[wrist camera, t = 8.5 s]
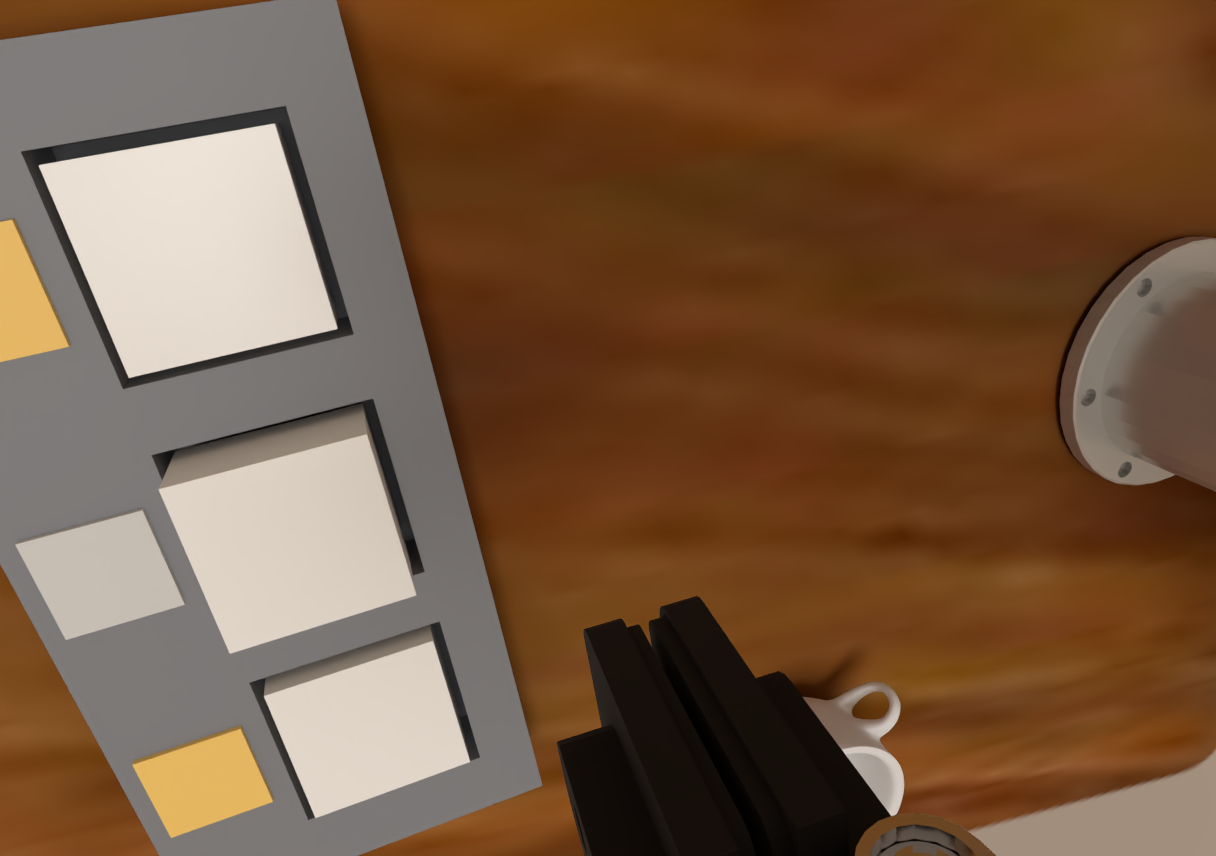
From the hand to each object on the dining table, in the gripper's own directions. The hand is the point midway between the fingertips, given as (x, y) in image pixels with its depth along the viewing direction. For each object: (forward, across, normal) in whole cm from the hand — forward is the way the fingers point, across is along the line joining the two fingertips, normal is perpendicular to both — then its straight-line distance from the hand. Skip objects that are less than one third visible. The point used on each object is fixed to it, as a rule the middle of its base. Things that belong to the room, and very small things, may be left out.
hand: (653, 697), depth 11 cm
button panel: (+20, +9, +4) cm, 23 cm away
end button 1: (+20, +7, +13) cm, 25 cm away
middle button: (+18, +7, +4) cm, 20 cm away
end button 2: (+20, +8, -5) cm, 22 cm away
